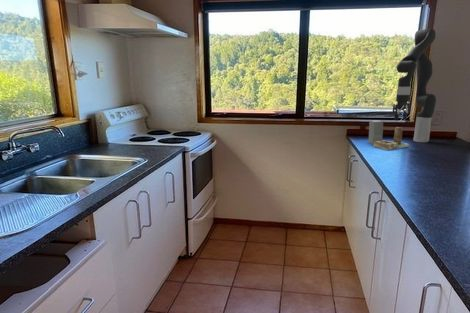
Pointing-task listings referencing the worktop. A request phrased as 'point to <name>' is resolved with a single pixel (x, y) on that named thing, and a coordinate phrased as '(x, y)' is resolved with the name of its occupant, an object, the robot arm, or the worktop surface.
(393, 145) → the pocket block
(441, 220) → the worktop surface
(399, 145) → the tray
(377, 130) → the skincare box
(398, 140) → the dowel
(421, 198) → the worktop surface
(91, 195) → the worktop surface
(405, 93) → the robot arm
